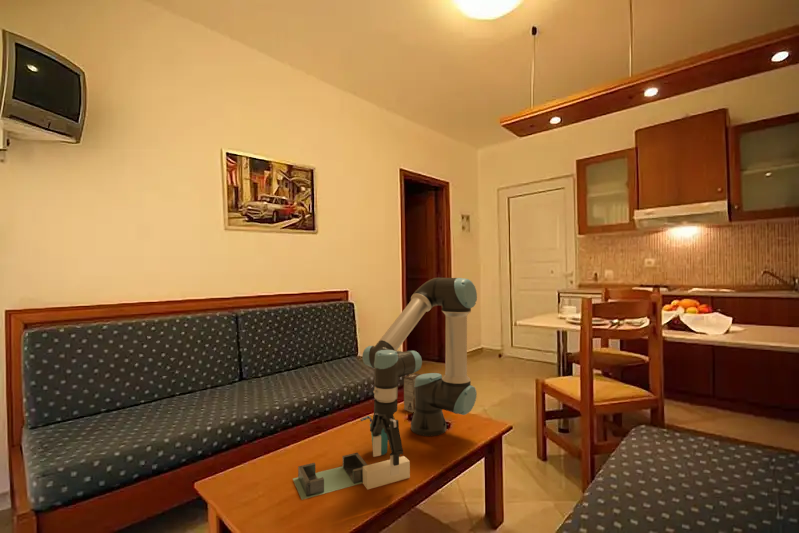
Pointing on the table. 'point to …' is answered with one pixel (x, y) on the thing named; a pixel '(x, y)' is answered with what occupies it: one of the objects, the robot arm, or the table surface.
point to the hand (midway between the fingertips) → (385, 464)
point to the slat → (384, 473)
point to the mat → (328, 481)
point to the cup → (383, 437)
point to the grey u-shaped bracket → (354, 467)
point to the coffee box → (409, 392)
